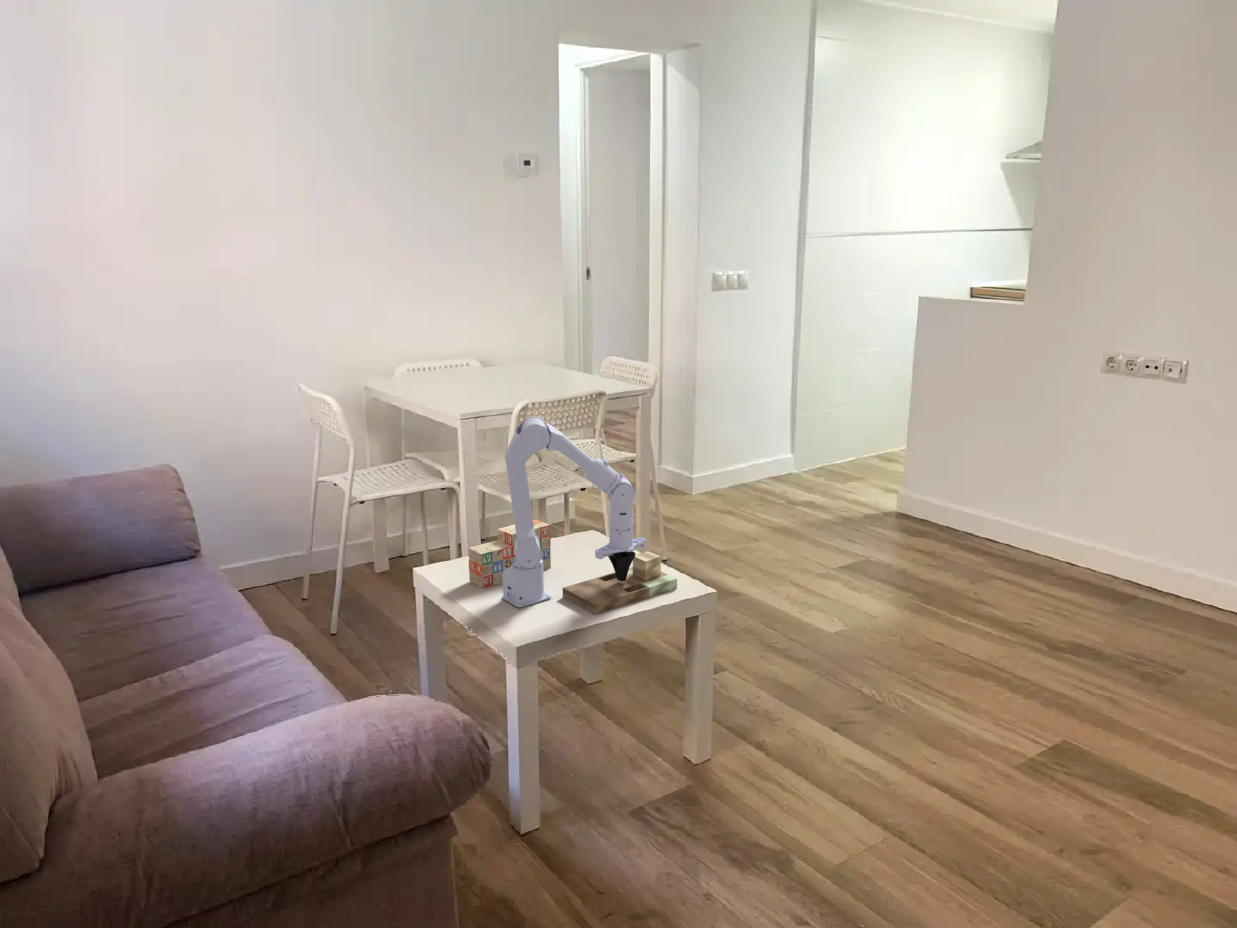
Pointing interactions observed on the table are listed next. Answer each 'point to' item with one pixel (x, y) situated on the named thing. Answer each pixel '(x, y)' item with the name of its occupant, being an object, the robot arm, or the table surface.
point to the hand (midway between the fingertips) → (621, 579)
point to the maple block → (647, 565)
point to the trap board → (616, 591)
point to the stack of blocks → (503, 555)
